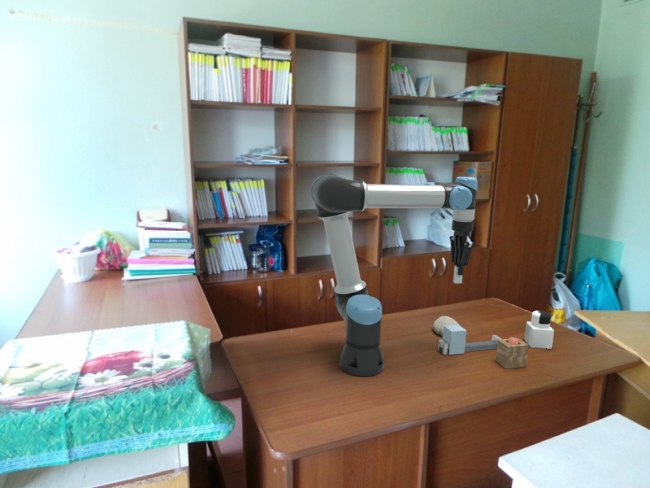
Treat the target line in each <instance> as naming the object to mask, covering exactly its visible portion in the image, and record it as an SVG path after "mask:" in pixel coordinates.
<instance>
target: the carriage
mask: <svg viewBox="0 0 650 488" xmlns="http://www.w3.org/2000/svg"><path fill="white" fill-rule="evenodd" d="M442 340H444V341H445V342H446V343H447V344H448V349H449V354H448V355H450V356H451V355H463V354H465V353H466V352H465V343H466V340H467V329H465V328H463V326H461V325H460V324H459V325H446V326H444V330H443V337H442Z"/></svg>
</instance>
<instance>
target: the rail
mask: <svg viewBox="0 0 650 488" xmlns="http://www.w3.org/2000/svg"><path fill="white" fill-rule="evenodd" d="M500 339H502V338H501V337H500V336H498V335H497V334H492V335H491V340H486V341H473V342H465V352H464V353H467V352H468V353H469V352H478V351H488V350H497V343H498V340H500ZM437 347H438V348H437V351H438V352H440V353H441V354H442V355H449V349H448V344H447V343H446V342H445V341H444V340H443V339H439V340H438V346H437Z"/></svg>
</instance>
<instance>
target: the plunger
mask: <svg viewBox="0 0 650 488" xmlns="http://www.w3.org/2000/svg"><path fill="white" fill-rule="evenodd" d="M517 338H518V337H513V336H509V338H508V339H509V342H508V343H509V344H511V345H518V339H517Z"/></svg>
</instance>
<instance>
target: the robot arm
mask: <svg viewBox="0 0 650 488" xmlns="http://www.w3.org/2000/svg"><path fill="white" fill-rule="evenodd" d="M310 188H311V190H310V194H311V195H310V196H311V198H312V200H313V202H314V207H315V210H316V215H317V219H319V220H322V221H323V225H324V230H325V231H324V232H325V234H326V239H327V244H328V248H329V253H330V257H331V261H332V266H333V270H334V274H335V275H334V276H335V279H336V285H335V287H334V294H335V295H334V296H335V307H336V310H337V312H338V313H339V314H340V316H341V318H342V320H343V322H344V323H345V343H344V346H343V348H342V352H341V353H340V356H339V368H340V369H341V370H342V371H343V372H345V373H347V374H350V375H352V376H358V377H372V376H376V375H378V374H380V373H382V372H383V371H384V370H385V369H384V368H385V359H384V354H383V351H382V349H381V334H382V333H381V332H382V331H381V330H382V316H383V309H382V307H383V306H382V303H381V301H380V300H379V299H378V298H377V297H375V296H374V297H373V296H371V295H369V292H368V287H367V282H366V281H364V280H362V279H361V273H360V270H359V264H358V260H357V255H356V249H355V244H354V240H353V235H352V231H351V230H352V229H351V225H350V220H349V217H348V216H349V214H350V213H351V212H364V210H366V209H452V221H451V230H452V231H453V235H449V241H450V262H451V263H453V265H454V267H453V281H452V283H453V284H463V275H464V267H468V265H469V262H470V257H471V254H472V250H473V247H474V245H475V242H474V241H471V232H473V231H474V225H475V222H474V220H475V214H476V204H477V196H478V195H477V193H478V179H477V178H476V177H474V176H457V177H456V179H455V180H454V182H441V181H440V182H439V181H432V182H429V181H428V182H425V183H424V184H396V183H395V184H394V183H393V184H391V183H390V184H386V183H384V184H383V183H373V184H372V183H367V182H365V181H364V180H354V179H348V178H344V177H341V176H339V175H337V174H333V173H325V174H322V175H320V176H318V177H317V178H316V179H315V180H314V182H313V183H312V185H311V187H310Z"/></svg>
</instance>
